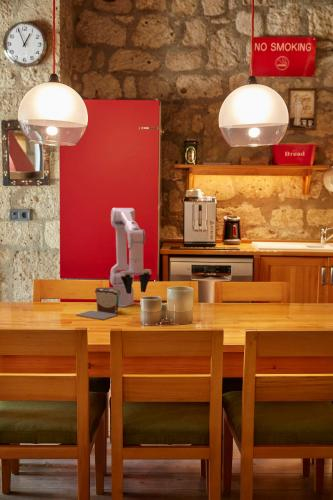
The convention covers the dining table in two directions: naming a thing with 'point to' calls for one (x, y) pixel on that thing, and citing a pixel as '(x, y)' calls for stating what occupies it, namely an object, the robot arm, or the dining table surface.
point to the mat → (97, 315)
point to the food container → (107, 299)
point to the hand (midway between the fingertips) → (136, 292)
